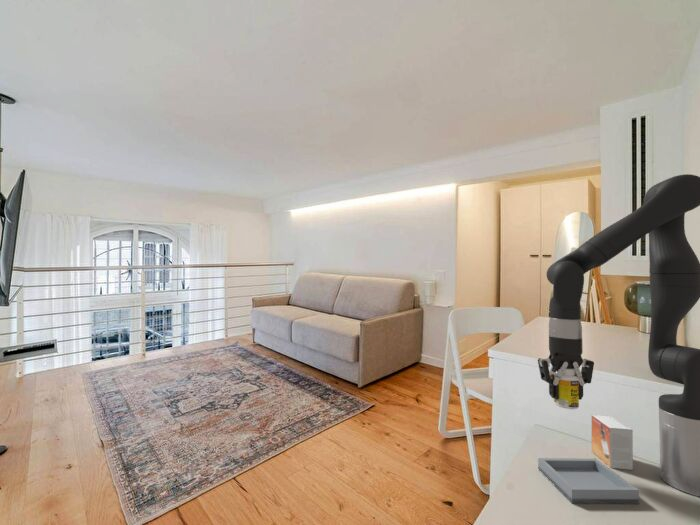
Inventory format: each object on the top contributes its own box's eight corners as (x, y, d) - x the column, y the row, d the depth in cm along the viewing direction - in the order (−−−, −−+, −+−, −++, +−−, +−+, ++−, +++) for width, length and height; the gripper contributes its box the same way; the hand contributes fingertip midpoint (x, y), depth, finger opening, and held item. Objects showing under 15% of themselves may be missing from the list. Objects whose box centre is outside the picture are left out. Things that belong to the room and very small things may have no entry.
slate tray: (595, 470, 82) (595, 458, 82) (638, 503, 70) (638, 489, 70) (538, 469, 81) (538, 458, 82) (571, 503, 69) (571, 489, 70)
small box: (591, 451, 91) (590, 414, 91) (612, 453, 90) (612, 415, 90) (610, 468, 83) (609, 427, 83) (633, 470, 82) (633, 429, 82)
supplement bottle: (573, 412, 81) (572, 371, 81) (549, 404, 85) (549, 366, 86) (583, 407, 84) (582, 368, 84) (560, 400, 88) (559, 363, 89)
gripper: (581, 332, 89) (582, 393, 88) (530, 332, 89) (531, 392, 88) (602, 338, 82) (604, 404, 81) (547, 337, 82) (548, 403, 81)
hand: (566, 398), depth 85 cm, fingers closed on supplement bottle, 5 cm apart
